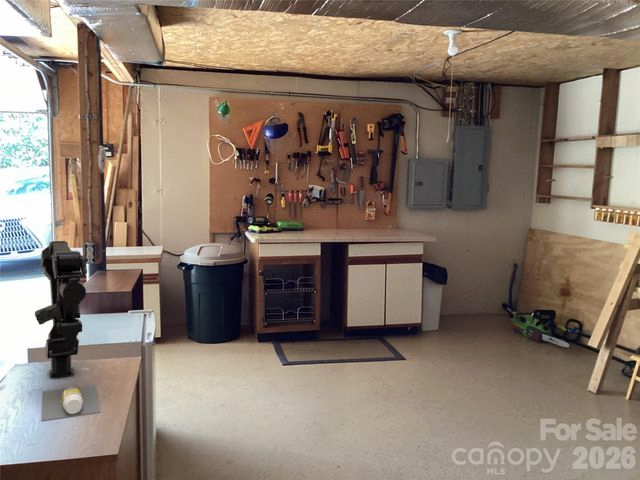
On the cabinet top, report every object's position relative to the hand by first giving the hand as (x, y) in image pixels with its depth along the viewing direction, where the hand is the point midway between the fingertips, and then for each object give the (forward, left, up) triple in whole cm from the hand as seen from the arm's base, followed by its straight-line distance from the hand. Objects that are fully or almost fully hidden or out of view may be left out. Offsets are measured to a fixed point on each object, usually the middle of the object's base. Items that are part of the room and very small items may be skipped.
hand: (69, 348), depth 150 cm
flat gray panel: (+7, 0, -13) cm, 15 cm away
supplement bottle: (+8, 0, -10) cm, 13 cm away
